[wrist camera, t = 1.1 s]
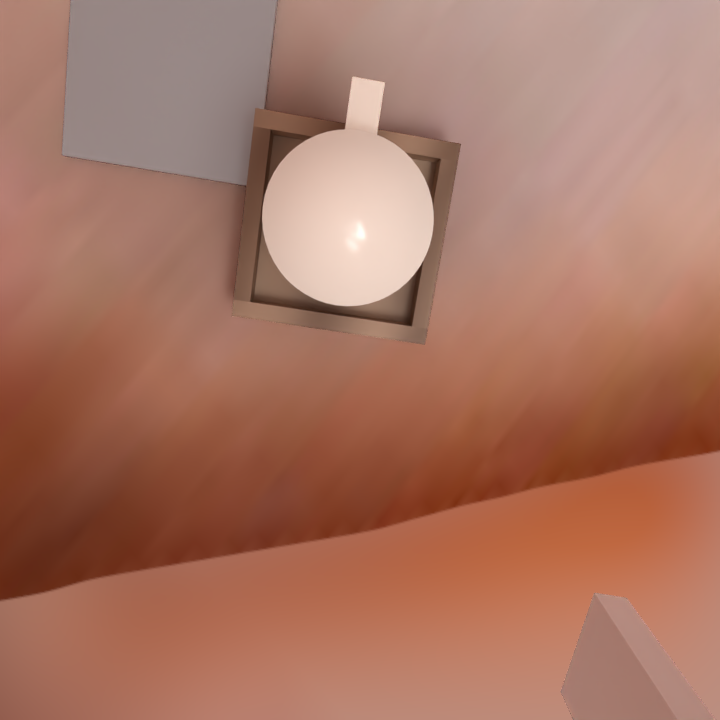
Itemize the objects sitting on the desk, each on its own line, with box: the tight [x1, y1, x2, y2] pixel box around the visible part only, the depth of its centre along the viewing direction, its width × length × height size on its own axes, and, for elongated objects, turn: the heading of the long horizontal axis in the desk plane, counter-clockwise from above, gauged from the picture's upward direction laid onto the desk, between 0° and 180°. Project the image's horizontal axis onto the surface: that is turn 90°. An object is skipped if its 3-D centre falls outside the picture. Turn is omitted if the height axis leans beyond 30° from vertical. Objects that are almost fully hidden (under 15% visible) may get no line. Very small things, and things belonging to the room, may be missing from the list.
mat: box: [62, 0, 278, 186], centre depth 34 cm, size 12×12×1 cm
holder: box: [232, 108, 461, 345], centre depth 34 cm, size 12×12×4 cm
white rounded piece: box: [262, 76, 434, 306], centre depth 28 cm, size 7×10×12 cm
